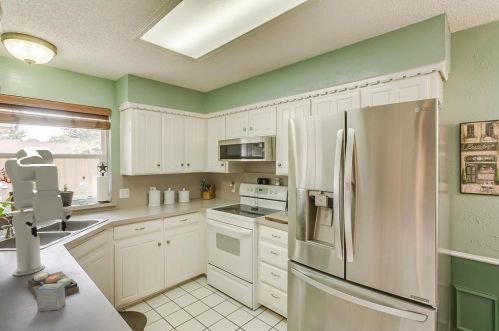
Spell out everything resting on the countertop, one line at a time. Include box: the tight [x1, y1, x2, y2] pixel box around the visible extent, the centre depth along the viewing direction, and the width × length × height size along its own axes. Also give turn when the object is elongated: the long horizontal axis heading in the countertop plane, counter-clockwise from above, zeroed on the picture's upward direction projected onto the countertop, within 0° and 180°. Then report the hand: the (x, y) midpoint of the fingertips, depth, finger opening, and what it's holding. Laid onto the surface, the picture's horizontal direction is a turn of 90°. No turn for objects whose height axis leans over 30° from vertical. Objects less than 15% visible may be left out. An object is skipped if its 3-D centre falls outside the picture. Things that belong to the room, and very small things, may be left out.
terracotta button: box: [45, 275, 59, 284], centre depth 115 cm, size 5×5×2 cm
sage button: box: [57, 277, 72, 287], centre depth 112 cm, size 5×5×2 cm
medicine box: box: [36, 283, 66, 312], centre depth 99 cm, size 8×4×9 cm, turn 92°
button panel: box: [27, 271, 80, 298], centre depth 115 cm, size 26×13×3 cm, turn 50°
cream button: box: [33, 272, 49, 282], centre depth 118 cm, size 5×5×2 cm
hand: (49, 233), depth 108 cm, fingers open, 9 cm apart
